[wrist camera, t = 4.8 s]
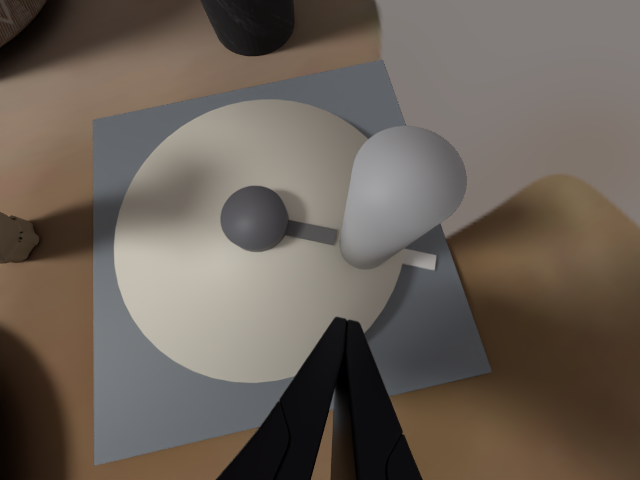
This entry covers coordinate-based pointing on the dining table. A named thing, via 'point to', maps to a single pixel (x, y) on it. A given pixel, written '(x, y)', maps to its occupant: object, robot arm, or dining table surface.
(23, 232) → the handle
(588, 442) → the dining table surface
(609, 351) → the dining table surface
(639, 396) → the dining table surface
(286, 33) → the travel mug
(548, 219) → the dining table surface
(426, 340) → the board
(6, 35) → the planter
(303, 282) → the dial
